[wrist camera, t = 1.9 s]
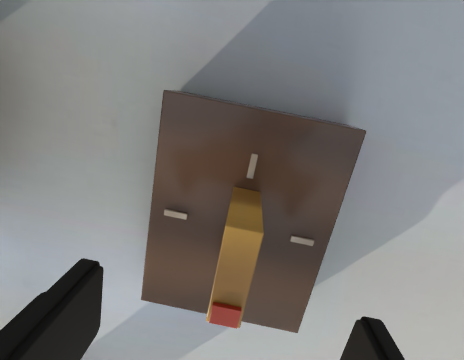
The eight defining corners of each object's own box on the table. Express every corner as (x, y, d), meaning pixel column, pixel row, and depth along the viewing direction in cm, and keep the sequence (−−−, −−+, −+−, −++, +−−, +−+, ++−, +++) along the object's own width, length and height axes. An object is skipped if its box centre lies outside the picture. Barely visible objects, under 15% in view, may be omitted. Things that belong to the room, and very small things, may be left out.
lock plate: (178, 90, 17) (162, 89, 14) (347, 125, 17) (368, 131, 14) (155, 273, 22) (139, 301, 19) (291, 301, 22) (297, 335, 18)
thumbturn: (233, 186, 16) (224, 228, 11) (260, 191, 16) (264, 236, 11) (218, 259, 17) (204, 325, 12) (243, 264, 17) (239, 333, 12)
